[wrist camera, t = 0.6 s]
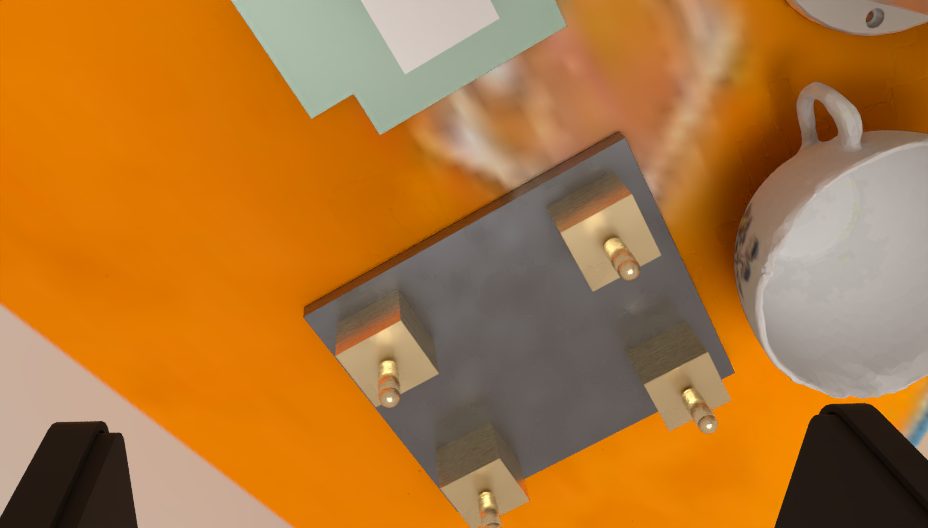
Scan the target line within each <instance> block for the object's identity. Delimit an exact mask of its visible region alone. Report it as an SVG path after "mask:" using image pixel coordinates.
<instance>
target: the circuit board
mask: <svg viewBox="0 0 928 528" xmlns="http://www.w3.org/2000/svg"><path fill="white" fill-rule="evenodd" d="M231 1H232V2H233V4H234V5H235V7H236V8H237V10H238V11H239V13H240V14H241V16H242V17H243V19H244V20H245V21H246V23H247V24H248V26H249V27H250V29H251V30H252V32H253V33H254V35H255V36H256V38H257V39H258V41H259V42H260V44H261V45H262V47H263V48H264V49H265V51H266V52H267V54H268V55H269V57H270V58H271V60H272V61H273V63H274V64H275V66H276V67H277V69H278V70H279V72H280V73H281V75H282V76H283V78H284V79H285V80H286V82H287V83H288V85H289V86H290V88H291V89H292V91H293V92H294V94H295V95H296V97H297V98H298V100H299V101H300V103H301V104H302V106H303V107H304V108H305V110H306V111H307V113H308V114H309V116H310V117H311V119H312V118H314V117H315V116H317V115H319V114H320V113H322V112H324V111H325V110H327V109H329V108H331V107H332V106H334V105H336V104H337V103H339V102H341V101H342V100H344V99H346V98H347V97H349V96H351V95H352V94H354V95H355V97H356V98H357V100H358V102H359V103H360V105H361V106H362V108H363V109H364V111H365V113H366V114H367V116H368V117H369V119H370V120H371V122H372V123H373V125H374V127H375V128H376V130H377V131H378V133H379V134H380V135H381V134H383V133H384V132H386V131H388V130H390V129H391V128H393V127H395V126H396V125H398V124H400V123H401V122H403V121H405V120H407V119H408V118H410V117H412V116H413V115H415V114H417V113H419V112H420V111H422V110H424V109H425V108H427V107H429V106H431V105H432V104H434V103H436V102H437V101H439V100H441V99H443V98H444V97H446V96H448V95H449V94H451V93H453V92H455V91H456V90H458V89H460V88H461V87H463V86H465V85H467V84H468V83H470V82H472V81H473V80H475V79H477V78H479V77H480V76H482V75H484V74H485V73H487V72H489V71H490V70H492V69H494V68H496V67H497V66H499V65H501V64H502V63H504V62H506V61H508V60H509V59H511V58H513V57H514V56H516V55H518V54H520V53H521V52H523V51H525V50H526V49H528V48H530V47H532V46H533V45H535V44H537V43H538V42H540V41H542V40H544V39H545V38H547V37H549V36H550V35H552V34H554V33H556V32H557V31H559V30H561V29H562V28H564V27H566V26H567V25H566V22H565V20H564V18H563V16H562V14H561V12H560V10H559V8H558V5H557V3H556V1H555V0H231Z"/></svg>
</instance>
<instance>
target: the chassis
mask: <svg viewBox="0 0 928 528" xmlns="http://www.w3.org/2000/svg"><path fill="white" fill-rule="evenodd" d="M303 317H304V319H305V320H306V321H307V322H308V324H309V325H310V326H311V327H312V329H313V330H314V331H315V332H316V334H317V335H318V336H319V338H320V339H321V340H322V341H323V343H324V344H325V345H326V346H327V348H328V349H329V350H330V351H331V353H332V354H333V355H334V356H335V358H336V359H337V360H338V362H339V363H340V364H341V365H342V367H343V368H344V369H345V370H346V372H347V373H348V374H349V375H350V377H351V378H352V379H353V380H354V382H355V383H356V384H357V385H358V387H359V388H360V389H361V391H362V392H363V393H364V394H365V396H366V397H367V398H368V399H369V401H370V402H371V403H372V404H373V406H374V407H375V408H376V409H377V411H378V412H379V413H380V415H381V416H382V417H383V418H384V420H385V421H386V422H387V423H388V425H389V426H390V427H391V428H392V430H393V431H394V432H395V433H396V435H397V436H398V437H399V438H400V440H401V441H402V442H403V444H404V445H405V446H406V447H407V449H408V450H409V451H410V452H411V454H412V455H413V456H414V457H415V459H416V460H417V461H418V462H419V464H420V465H421V466H422V468H423V469H424V470H425V471H426V473H427V474H428V475H429V476H430V478H431V479H432V480H433V481H434V483H435V484H436V485H437V486H438V488H439V489H440V490H441V491H442V493H443V494H444V495H445V497H446V498H447V499H448V500H449V502H450V503H451V504H452V505H453V507H454V508H455V509H456V510H457V512H459V513H460V514H461V516H462V517H463V518H464V519H465V521H466V522H467V523H468V525H469V526H470V527H471V528H476V527H478V526H480V525H482V528H502V524H501V520H500V515H502V514H504V513H506V512H508V511H510V510H512V509H514V508H516V507H518V506H520V505H522V504H524V503H526V502H528V501H530V499H529V495H528V492H527V488H526V484H525V480H524V479H525V478H527V477H529V476H531V475H533V474H535V473H537V472H539V471H541V470H543V469H545V468H547V467H549V466H551V465H553V464H555V463H557V462H559V461H561V460H563V459H565V458H567V457H569V456H571V455H573V454H575V453H577V452H579V451H581V450H583V449H585V448H587V447H589V446H591V445H593V444H594V443H596V442H598V441H600V440H602V439H604V438H606V437H608V436H610V435H612V434H614V433H616V432H618V431H620V430H622V429H624V428H626V427H628V426H630V425H632V424H634V423H636V422H638V421H640V420H642V419H644V418H646V417H648V416H650V415H652V414H654V413H656V412H659V413H660V415H661V417H662V419H663V421H664V422H665V424H666V426H667V428H668V430H669V431H671V430H673V429H675V428H677V427H679V426H681V425H683V424H685V423H687V422H689V421H691V420H694V422H695V424H696V425H697V427H698V428H699V430H700V431H702V432H703V433H707V434H709V433H713V432H714V431H715V430H716V429H717V427H718V420H717V418H716V417H715V415H714V414H713V412H712V410H713V409H715V408H717V407H719V406H721V405H723V404H725V403H727V402H729V401H731V399H730V397H729V395H728V392H727V390H726V388H725V386H724V384H723V382H722V380H721V379H723V378H725V377H727V376H729V375H731V374H733V373H735V372H734V370H733V367H732V365H731V363H730V361H729V359H728V357H727V355H726V352H725V350H724V348H723V346H722V344H721V342H720V340H719V337H718V335H717V333H716V331H715V329H714V327H713V325H712V323H711V320H710V318H709V316H708V314H707V312H706V310H705V308H704V305H703V303H702V301H701V299H700V297H699V295H698V293H697V290H696V288H695V286H694V284H693V282H692V280H691V278H690V275H689V273H688V271H687V269H686V267H685V265H684V263H683V260H682V258H681V256H680V254H679V252H678V250H677V248H676V245H675V243H674V241H673V239H672V237H671V235H670V233H669V231H668V228H667V226H666V224H665V222H664V220H663V218H662V216H661V213H660V211H659V209H658V207H657V205H656V203H655V201H654V198H653V196H652V194H651V192H650V190H649V188H648V186H647V183H646V181H645V179H644V177H643V175H642V173H641V171H640V168H639V166H638V164H637V162H636V160H635V158H634V156H633V154H632V151H631V149H630V147H629V145H628V143H627V141H626V139H625V137H624V136H623V135H622V134H621V133H620V132H617V133H615V134H614V135H612V136H610V137H608V138H606V139H605V140H603V141H601V142H599V143H598V144H596V145H594V146H592V147H590V148H589V149H587V150H585V151H583V152H581V153H580V154H578V155H576V156H574V157H572V158H571V159H569V160H567V161H565V162H564V163H562V164H560V165H558V166H556V167H555V168H553V169H551V170H549V171H547V172H546V173H544V174H542V175H540V176H538V177H537V178H535V179H533V180H531V181H530V182H528V183H526V184H524V185H522V186H521V187H519V188H517V189H515V190H513V191H512V192H510V193H508V194H506V195H505V196H503V197H501V198H499V199H497V200H496V201H494V202H492V203H490V204H488V205H487V206H485V207H483V208H481V209H479V210H478V211H476V212H474V213H472V214H471V215H469V216H467V217H465V218H463V219H462V220H460V221H458V222H456V223H454V224H453V225H451V226H449V227H447V228H445V229H444V230H442V231H440V232H438V233H437V234H435V235H433V236H431V237H429V238H428V239H426V240H424V241H422V242H420V243H419V244H417V245H415V246H413V247H411V248H410V249H408V250H406V251H404V252H403V253H401V254H399V255H397V256H395V257H394V258H392V259H390V260H388V261H386V262H385V263H383V264H381V265H379V266H378V267H376V268H374V269H372V270H370V271H369V272H367V273H365V274H363V275H361V276H360V277H358V278H356V279H354V280H352V281H351V282H349V283H347V284H345V285H344V286H342V287H340V288H338V289H336V290H335V291H333V292H331V293H329V294H327V295H326V296H324V297H322V298H320V299H318V300H317V301H315V302H313V303H311V304H310V305H308V306H306V307H305V309H304V316H303Z"/></svg>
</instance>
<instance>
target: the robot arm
mask: <svg viewBox="0 0 928 528" xmlns="http://www.w3.org/2000/svg"><path fill="white" fill-rule="evenodd" d="M786 2H787V3H788V4H789V5H790V6H791V7H792V8H793V9H795V10H796V11H797V12H799V13H800V14H801V15H803V16H804V17H806V18H807V19H808V20H810V21H812V22H815V23H817V24H820V25H822V26H825V27H827V28H829V29H833V30H836V31H840V32H844V33H848V34H851V35H863V36H877V35H884V34H890V33H896V32H901V31H904V30H907V29H910V28H913V27H916V26H919V25H921V24H924V23H927V22H928V0H786ZM0 528H138V527H137V520H136V514H135V508H134V501H133V494H132V488H131V482H130V475H129V468H128V462H127V455H126V449H125V442H124V438H123V436H122V434H121V433H109V431H108V427H107V425H106V423H105V422H102V421H95V422H94V421H93V422H56V423H54V424H52V425H51V427H50V428H49V429H48V431H47V433H46V435H45V437H44V438H43V440H42V442H41V444H40V446H39V448H38V450H37V451H36V453H35V455H34V457H33V459H32V460H31V462H30V464H29V466H28V468H27V470H26V471H25V473H24V475H23V477H22V479H21V480H20V482H19V484H18V486H17V488H16V490H15V491H14V493H13V495H12V497H11V499H10V501H9V502H8V504H7V506H6V508H5V510H4V512H3V514H2V515H1V517H0ZM774 528H928V460H927V459H926V458H925V457H924V456H923V455H922V454H921V453H920V452H919V451H918V450H917V449H916V448H915V447H914V446H913V445H912V444H911V443H910V442H909V441H908V440H907V439H906V438H905V437H904V436H903V435H902V434H901V433H900V432H899V431H898V430H897V429H896V428H895V427H894V426H893V425H892V424H891V423H890V422H889V421H888V420H887V419H886V418H885V417H884V416H883V415H882V414H881V413H880V412H879V411H878V410H877V409H876V408H875V407H873V406H872V405H870V404H866V403H856V404H830V405H826V406H825V407H824V408H822V409H821V411H820V413H819V415H815V416H814V417H813V418H812V419H811V420H810V423H809V425H808V428H807V431H806V434H805V437H804V440H803V443H802V446H801V449H800V452H799V455H798V458H797V461H796V464H795V467H794V470H793V473H792V476H791V479H790V482H789V485H788V488H787V491H786V494H785V497H784V500H783V503H782V506H781V509H780V512H779V515H778V518H777V521H776V524H775V527H774Z"/></svg>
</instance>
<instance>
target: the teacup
mask: <svg viewBox="0 0 928 528" xmlns="http://www.w3.org/2000/svg"><path fill="white" fill-rule="evenodd" d="M815 99H817V100H818V101H820V102H822V104H823V105H824V106H825V108H826V109H827V111H828V112H829V113H830V115H831V116H832V117H833V119H834V121H835V124H836V126H837V128H838V135H837V136H835V137H834V138H833V139H831V140H828V141H825V142H824V141H820V140H819V139H818V138H817V136H818V135H817V133H816V132H817V131H816V129H815V124H816V120H815V115H814V101H815ZM796 108H797V116H798V121H799V125H800V128H801V136H802V145H801V147H800V150H799V151H798V152H797V154H796V155H795V156H794V157H792V158H790V159H789V160H787V161H786V162H784V163H783V164H782V165H781V166H779V167H778V168H777V169H776V170H775V171H774V172H773V173H771V174H770V175H769V177H768V178H767V179H766V180H765V181H764V182H763V183H762V184H761V186H760V187H759V188H758V190H757V191H756V192H755V194H754V195H753V197H752V199H751V200H750V202H749V204H748V206H747V208H746V209H745V212H744V214H743V216H742V219H741V222H740V225H739V228H738V231H737V235H736V244H735V254H734V267H735V278H736V284H737V289H738V294H739V298H740V301H741V304H742V307H743V310H744V312H745V315H746V317H747V320H748V322H749V324H750V326H751V328H752V330H753V332H754V334H755V336H756V338H757V339H758V341H759V342H760V344H761V346H762V347H763V349H764V351H765V352H766V354H767V355H768V357H769V358H770V360H771V361H772V362H773V364H774V365H775V366H776V367H777V368H778V369H780V370H781V371H782V372H784V373H785V374H786V375H787V376H789V377H790V378H791V379H792V380H793V381H794V382H795V383H798V384H802V385H805V386H807V387H809V388H812V389H816V390H818V391H820V392H823V393H825V394H827V395H829V396H831V397H834V398H846V397H848V396H854V397H858V398H868V397H880V396H881V395H883V394H887V393H895V392H898V391H900V390H902V389H905V388H907V387H908V386H909V385H911V384H912V383H914V382H916V381H917V380H919V379H921V378H923V377H925V376H927V375H928V134H927V133H920V132H912V131H900V130H879V131H867V132H863V128H862V120H861V116H860V114H859V112H858V110H857V109H856V107H855V106H854V105H853V104H852V103H851V102H850V101H849V100H847V99H846V98H845V97H844V96H842V95H841V94H840V93H839V92H838V91H836V90H835V89H833V88H831V87H829V86H827V85H825V84H823V83H821V82H812V83H811V84H809V85H807V86H805V87H804V88H803V89H802V90H801V92H800V94H799V97H798V99H797V102H796Z"/></svg>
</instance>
